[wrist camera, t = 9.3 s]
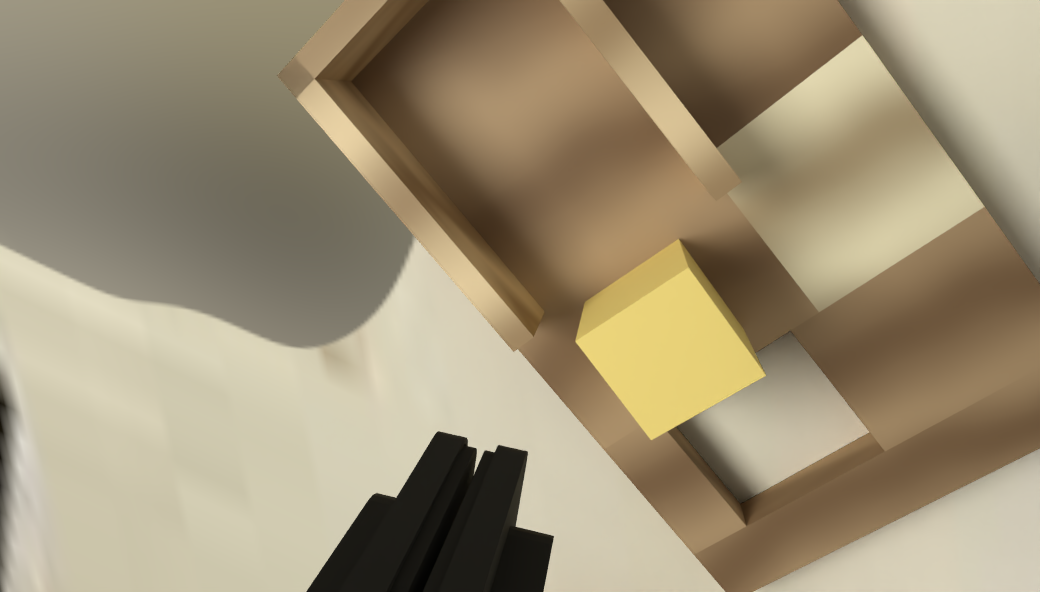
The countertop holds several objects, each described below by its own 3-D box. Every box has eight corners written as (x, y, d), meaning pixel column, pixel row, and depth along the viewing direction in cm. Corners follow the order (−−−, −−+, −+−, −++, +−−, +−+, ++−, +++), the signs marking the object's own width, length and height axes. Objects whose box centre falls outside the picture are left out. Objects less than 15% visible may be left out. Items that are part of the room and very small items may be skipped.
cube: (743, 328, 25) (766, 375, 21) (648, 385, 26) (651, 440, 22) (678, 238, 24) (688, 267, 20) (584, 301, 26) (574, 341, 21)
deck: (1096, 386, 25) (1125, 405, 23) (728, 576, 30) (733, 601, 29) (643, -245, 21) (644, -272, 20) (320, 96, 27) (301, 96, 25)
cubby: (729, 172, 23) (742, 181, 20) (526, 325, 26) (513, 352, 24) (503, -121, 22) (484, -155, 19) (317, 78, 25) (276, 75, 22)
